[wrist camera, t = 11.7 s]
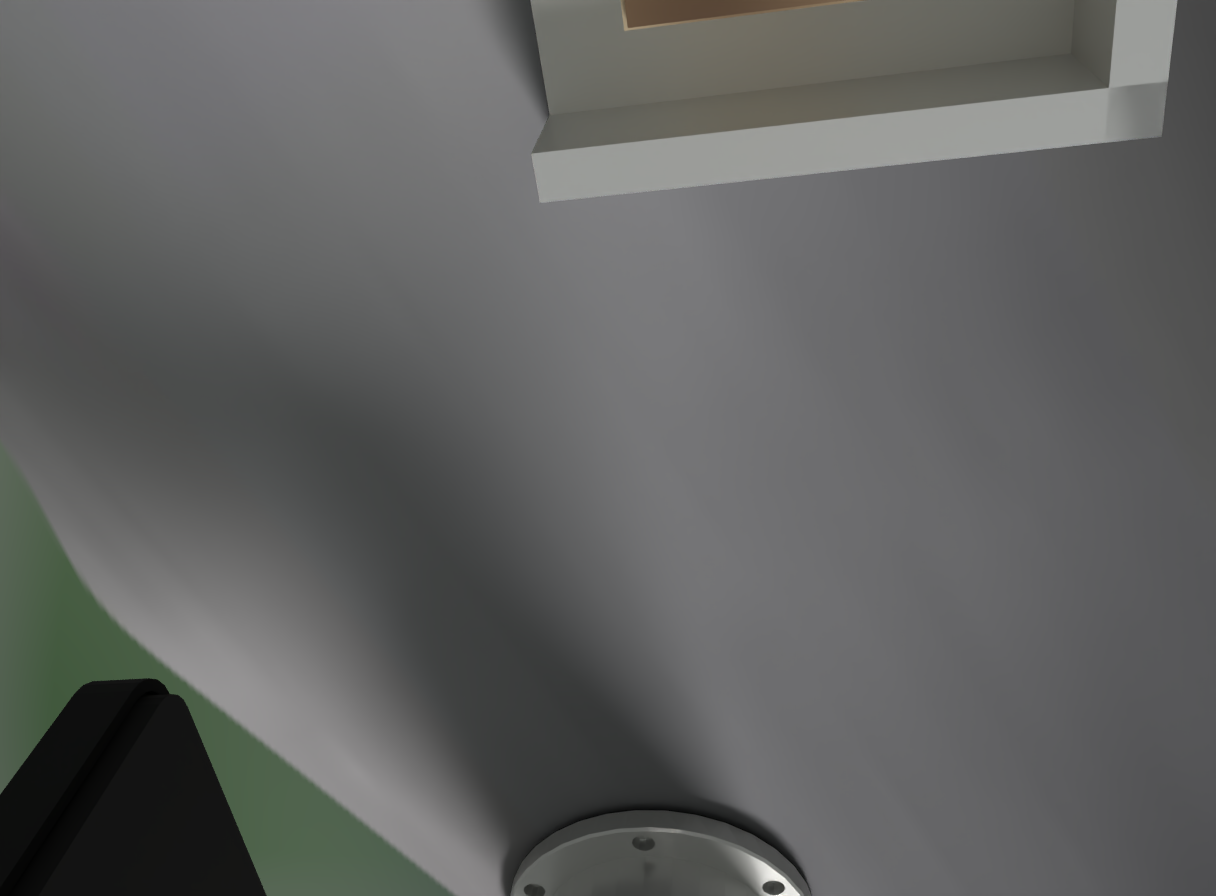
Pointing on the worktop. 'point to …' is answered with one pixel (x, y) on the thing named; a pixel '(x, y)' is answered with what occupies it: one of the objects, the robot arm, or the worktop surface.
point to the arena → (838, 88)
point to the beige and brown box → (704, 10)
